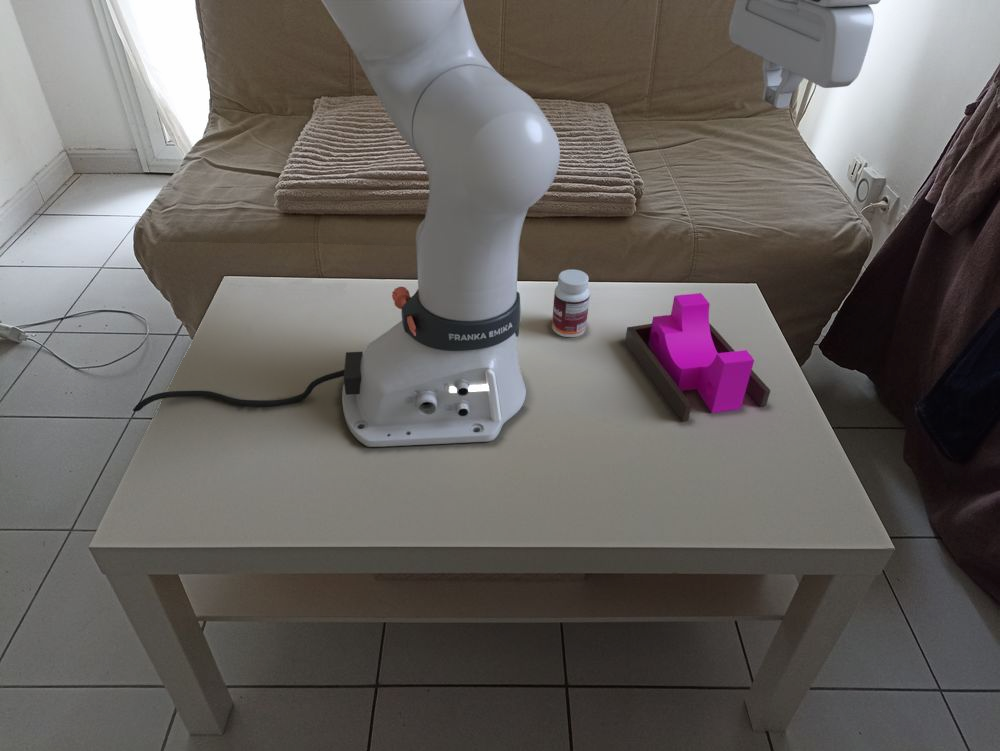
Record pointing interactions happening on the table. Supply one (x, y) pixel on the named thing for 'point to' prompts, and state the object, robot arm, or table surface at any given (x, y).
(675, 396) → the bay
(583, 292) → the pill bottle
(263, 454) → the table surface
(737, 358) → the toy block
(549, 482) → the table surface
